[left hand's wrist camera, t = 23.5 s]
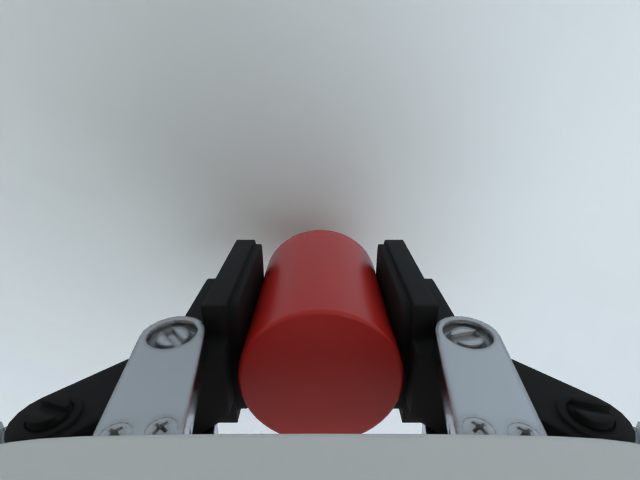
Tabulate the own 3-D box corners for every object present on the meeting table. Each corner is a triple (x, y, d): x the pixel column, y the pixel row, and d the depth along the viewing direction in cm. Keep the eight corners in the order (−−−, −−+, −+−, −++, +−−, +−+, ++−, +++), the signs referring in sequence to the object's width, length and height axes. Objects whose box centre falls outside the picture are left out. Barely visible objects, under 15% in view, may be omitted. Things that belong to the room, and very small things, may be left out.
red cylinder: (252, 242, 12) (214, 330, 8) (364, 218, 12) (390, 295, 7) (282, 334, 13) (263, 455, 9) (382, 315, 13) (415, 430, 8)
